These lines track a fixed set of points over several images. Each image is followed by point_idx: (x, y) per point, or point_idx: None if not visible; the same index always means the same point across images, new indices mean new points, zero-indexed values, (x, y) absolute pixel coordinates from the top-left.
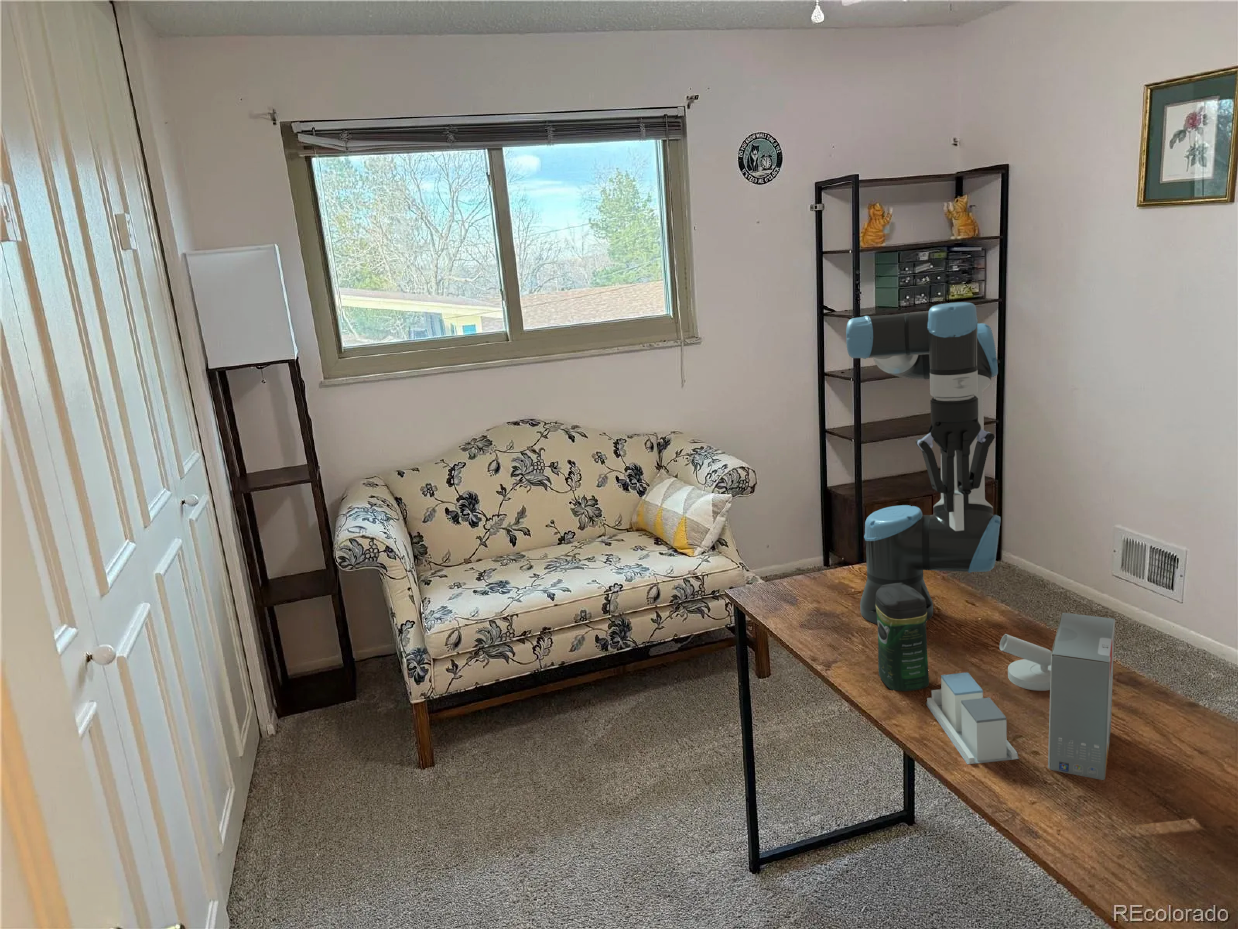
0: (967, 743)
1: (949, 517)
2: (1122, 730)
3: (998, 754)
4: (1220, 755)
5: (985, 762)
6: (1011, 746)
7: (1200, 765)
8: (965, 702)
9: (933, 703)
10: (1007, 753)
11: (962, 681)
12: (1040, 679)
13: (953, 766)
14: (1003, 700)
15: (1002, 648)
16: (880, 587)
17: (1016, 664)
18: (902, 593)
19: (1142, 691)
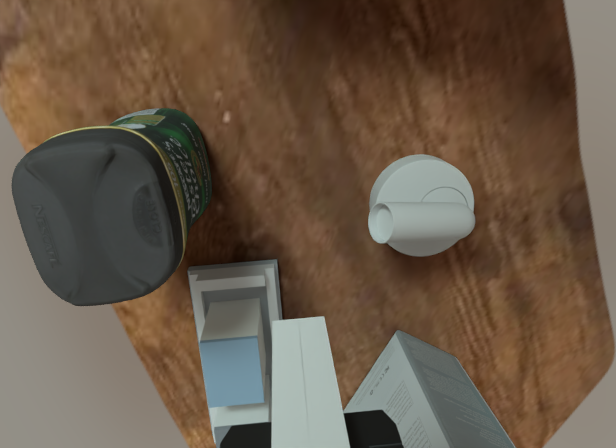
0: None
1: (272, 355)
2: (475, 354)
3: None
4: (560, 416)
5: None
6: None
7: (521, 433)
8: (220, 436)
9: (196, 294)
10: None
11: (235, 370)
12: (419, 244)
13: (196, 419)
14: (336, 254)
15: (376, 211)
16: (23, 165)
17: (402, 180)
18: (90, 264)
19: (576, 251)
